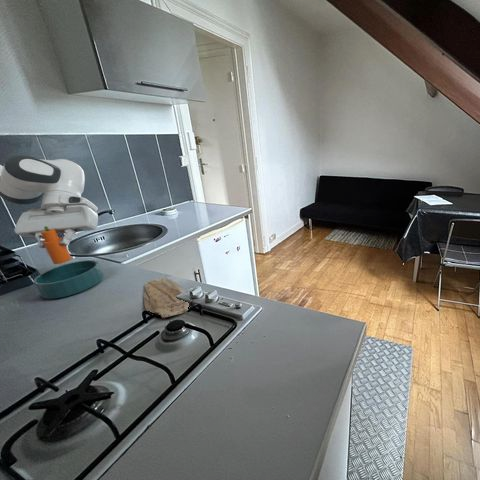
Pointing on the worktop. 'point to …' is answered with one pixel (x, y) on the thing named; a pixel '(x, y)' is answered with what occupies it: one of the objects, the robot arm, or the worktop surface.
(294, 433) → the worktop surface
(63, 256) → the carrot
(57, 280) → the bowl
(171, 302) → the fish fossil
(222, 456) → the worktop surface
